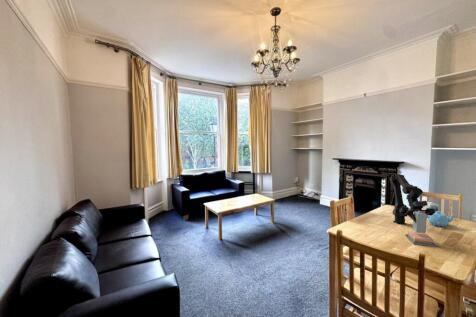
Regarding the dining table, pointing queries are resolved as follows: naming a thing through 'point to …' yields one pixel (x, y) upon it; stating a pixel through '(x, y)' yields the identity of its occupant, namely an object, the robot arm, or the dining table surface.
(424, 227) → the column brick
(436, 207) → the light bulb box
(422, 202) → the robot arm
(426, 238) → the pinkish brown square block
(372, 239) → the dining table surface
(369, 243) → the dining table surface
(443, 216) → the teapot
